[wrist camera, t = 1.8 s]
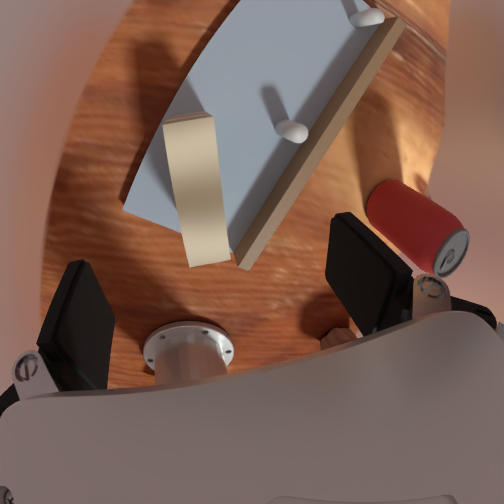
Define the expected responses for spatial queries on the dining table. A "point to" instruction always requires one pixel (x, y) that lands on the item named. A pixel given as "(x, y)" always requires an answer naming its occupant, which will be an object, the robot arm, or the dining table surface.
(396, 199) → the beer can
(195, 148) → the beige tapered block
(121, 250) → the dining table surface
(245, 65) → the ledge
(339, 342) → the cupcake
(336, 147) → the dining table surface
